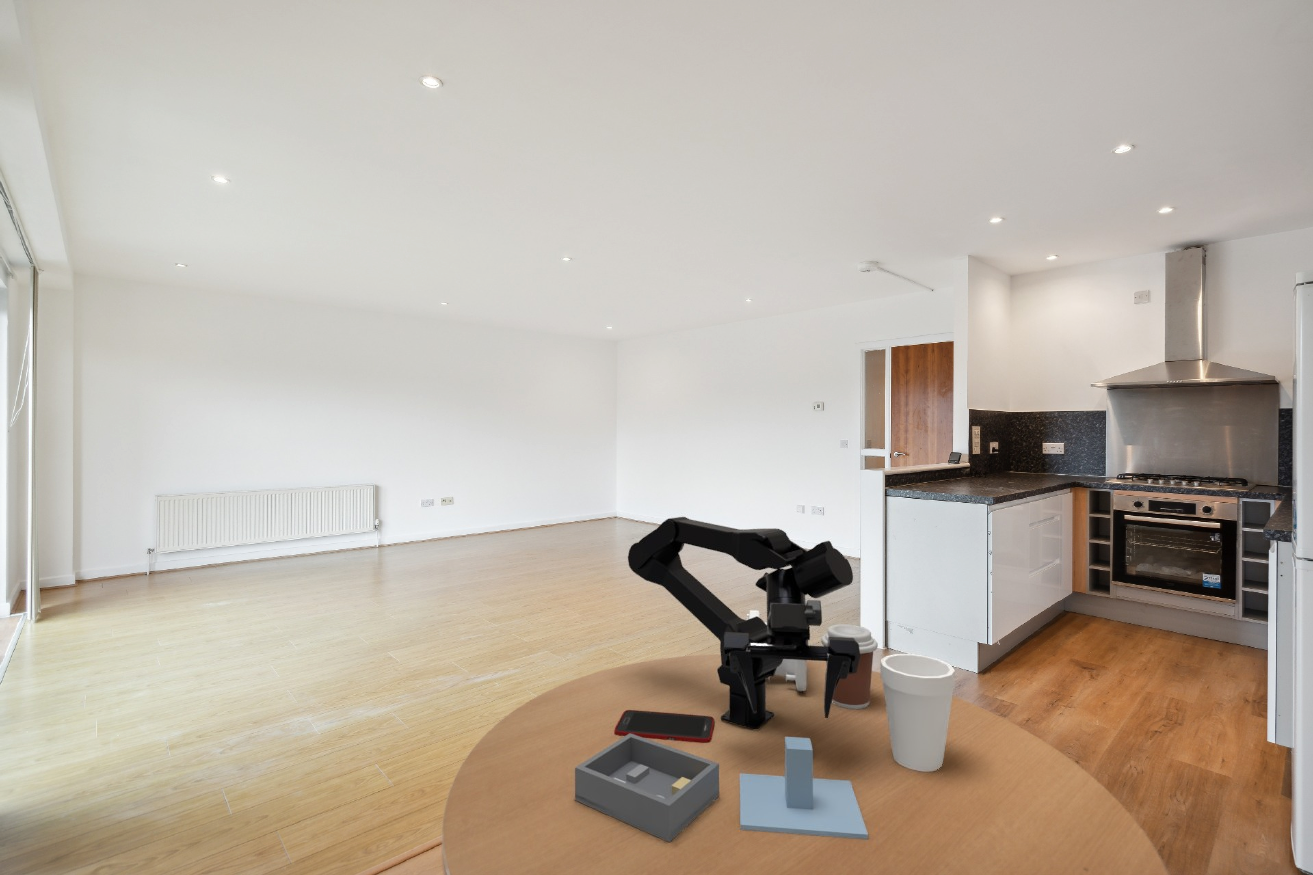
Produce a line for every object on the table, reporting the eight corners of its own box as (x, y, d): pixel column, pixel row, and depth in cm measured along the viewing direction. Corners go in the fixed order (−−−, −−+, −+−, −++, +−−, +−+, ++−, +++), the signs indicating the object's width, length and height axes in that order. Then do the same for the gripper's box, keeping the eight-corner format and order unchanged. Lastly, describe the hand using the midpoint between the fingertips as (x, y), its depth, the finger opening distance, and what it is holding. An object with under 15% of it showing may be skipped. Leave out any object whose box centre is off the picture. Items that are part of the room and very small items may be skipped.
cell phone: (624, 715, 101) (624, 709, 101) (715, 722, 98) (715, 716, 98) (612, 737, 94) (612, 730, 94) (710, 746, 91) (710, 739, 91)
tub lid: (739, 780, 82) (739, 719, 82) (850, 788, 80) (850, 725, 80) (740, 833, 71) (740, 762, 71) (868, 843, 69) (867, 770, 69)
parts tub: (629, 762, 85) (629, 733, 85) (719, 795, 77) (719, 763, 77) (575, 800, 76) (575, 767, 76) (669, 842, 68) (669, 805, 68)
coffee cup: (876, 693, 109) (875, 624, 109) (879, 715, 100) (879, 640, 100) (822, 687, 111) (821, 620, 111) (821, 708, 103) (820, 635, 103)
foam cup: (954, 751, 88) (954, 659, 88) (955, 784, 80) (955, 682, 80) (883, 738, 92) (883, 650, 92) (877, 767, 84) (877, 671, 84)
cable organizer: (807, 699, 106) (807, 631, 106) (745, 695, 108) (744, 628, 108) (802, 668, 121) (802, 608, 121) (747, 665, 123) (747, 606, 123)
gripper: (720, 575, 88) (715, 683, 77) (857, 579, 85) (872, 692, 74) (723, 615, 96) (719, 719, 85) (849, 620, 93) (862, 728, 82)
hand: (790, 714), depth 81 cm, fingers open, 9 cm apart
